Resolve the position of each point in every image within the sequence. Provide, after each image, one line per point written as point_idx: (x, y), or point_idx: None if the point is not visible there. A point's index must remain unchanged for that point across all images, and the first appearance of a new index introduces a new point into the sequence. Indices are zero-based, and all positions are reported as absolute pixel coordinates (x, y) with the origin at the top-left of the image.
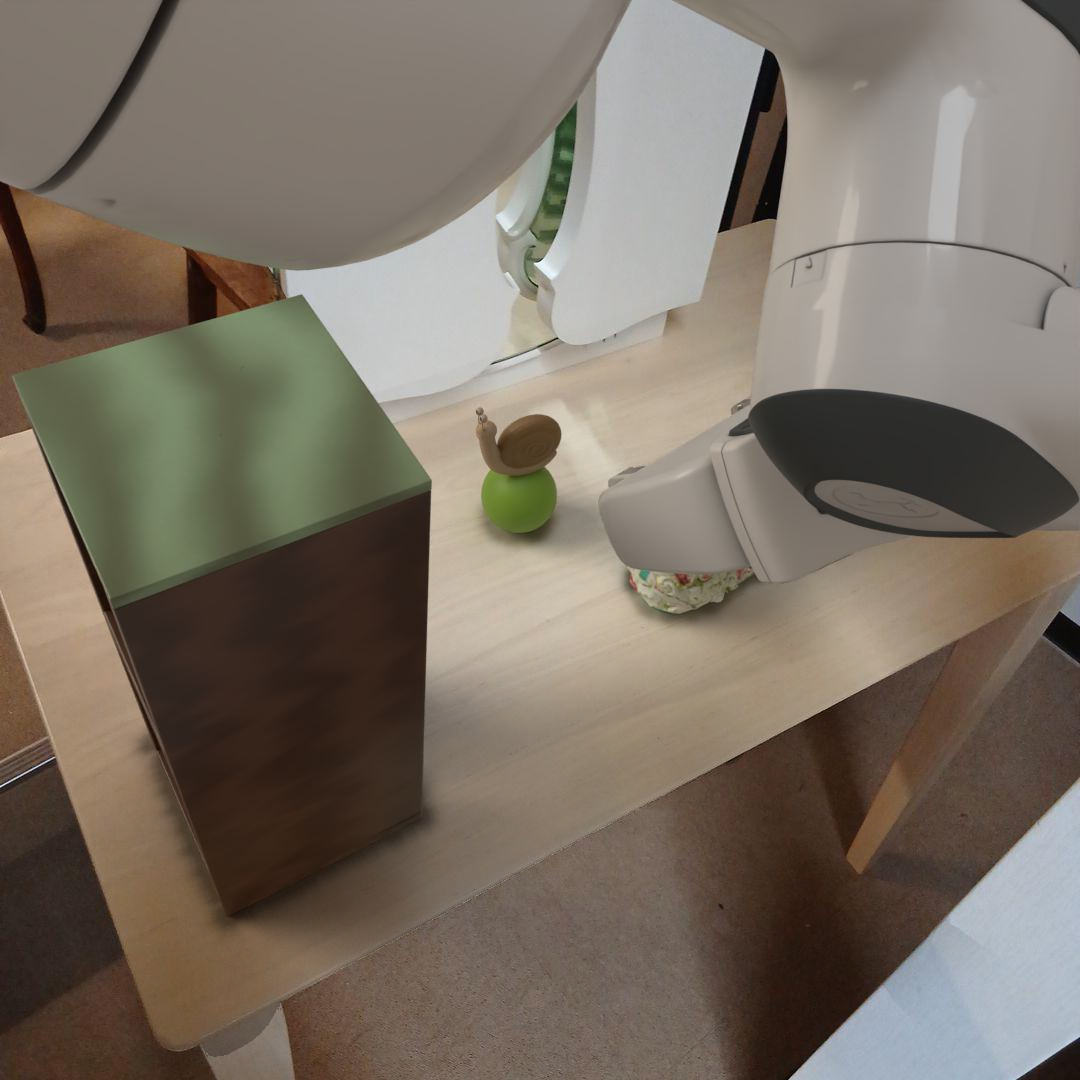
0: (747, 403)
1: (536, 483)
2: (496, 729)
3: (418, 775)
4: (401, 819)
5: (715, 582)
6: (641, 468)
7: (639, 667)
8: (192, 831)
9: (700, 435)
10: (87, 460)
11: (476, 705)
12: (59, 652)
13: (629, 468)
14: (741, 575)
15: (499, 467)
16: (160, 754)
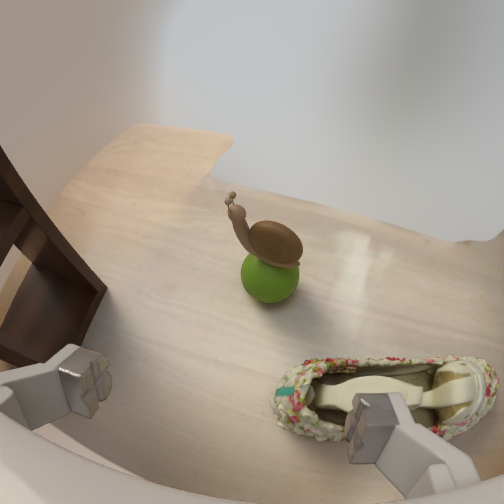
0: (369, 417)
1: (271, 275)
2: (127, 386)
3: None
4: None
5: (318, 435)
6: (70, 374)
7: (232, 432)
8: (12, 302)
9: (12, 451)
10: None
11: (132, 366)
12: (61, 203)
13: (93, 356)
14: None
15: (246, 246)
16: (31, 265)
